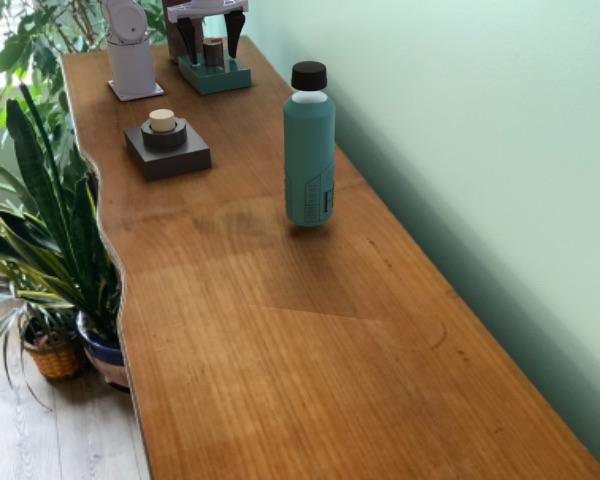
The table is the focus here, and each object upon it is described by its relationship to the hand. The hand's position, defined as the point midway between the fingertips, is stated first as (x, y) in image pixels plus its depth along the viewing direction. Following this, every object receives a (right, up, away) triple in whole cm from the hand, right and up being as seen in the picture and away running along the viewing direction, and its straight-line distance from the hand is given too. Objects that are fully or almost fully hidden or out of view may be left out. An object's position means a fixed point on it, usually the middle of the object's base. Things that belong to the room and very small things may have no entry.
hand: (213, 59), depth 117 cm
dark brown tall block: (-7, +6, +10) cm, 14 cm away
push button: (-4, -23, -23) cm, 32 cm away
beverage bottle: (+17, -40, -33) cm, 55 cm away
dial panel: (0, -2, +3) cm, 3 cm away
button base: (-4, -26, -19) cm, 33 cm away
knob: (0, 0, 0) cm, 0 cm away
